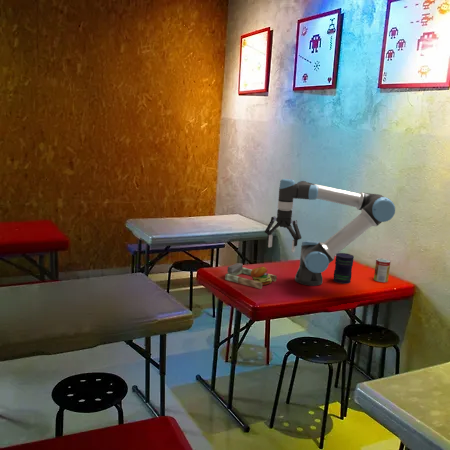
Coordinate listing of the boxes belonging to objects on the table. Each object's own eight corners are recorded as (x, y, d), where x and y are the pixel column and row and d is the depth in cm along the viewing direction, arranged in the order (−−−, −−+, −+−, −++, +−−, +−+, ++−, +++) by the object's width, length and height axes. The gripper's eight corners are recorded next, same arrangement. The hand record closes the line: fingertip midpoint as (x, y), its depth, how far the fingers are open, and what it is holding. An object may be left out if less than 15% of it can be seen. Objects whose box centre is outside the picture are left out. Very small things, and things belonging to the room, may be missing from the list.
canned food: (386, 278, 291) (388, 258, 288) (389, 282, 283) (392, 262, 281) (372, 277, 291) (375, 257, 289) (375, 281, 284) (377, 261, 281)
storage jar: (346, 284, 274) (349, 258, 271) (330, 280, 280) (333, 255, 277) (353, 281, 282) (356, 255, 279) (337, 276, 288) (340, 252, 285)
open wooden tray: (276, 280, 273) (277, 270, 272) (260, 288, 258) (261, 277, 257) (240, 271, 285) (241, 261, 284) (223, 279, 270) (224, 268, 269)
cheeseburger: (272, 286, 263) (269, 268, 261) (253, 289, 264) (249, 272, 262) (271, 280, 273) (268, 263, 271) (252, 283, 274) (249, 266, 271)
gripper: (310, 212, 251) (306, 252, 255) (267, 205, 264) (264, 243, 268) (304, 214, 244) (300, 255, 249) (260, 206, 258) (257, 246, 262)
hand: (281, 249), depth 259 cm, fingers open, 13 cm apart
